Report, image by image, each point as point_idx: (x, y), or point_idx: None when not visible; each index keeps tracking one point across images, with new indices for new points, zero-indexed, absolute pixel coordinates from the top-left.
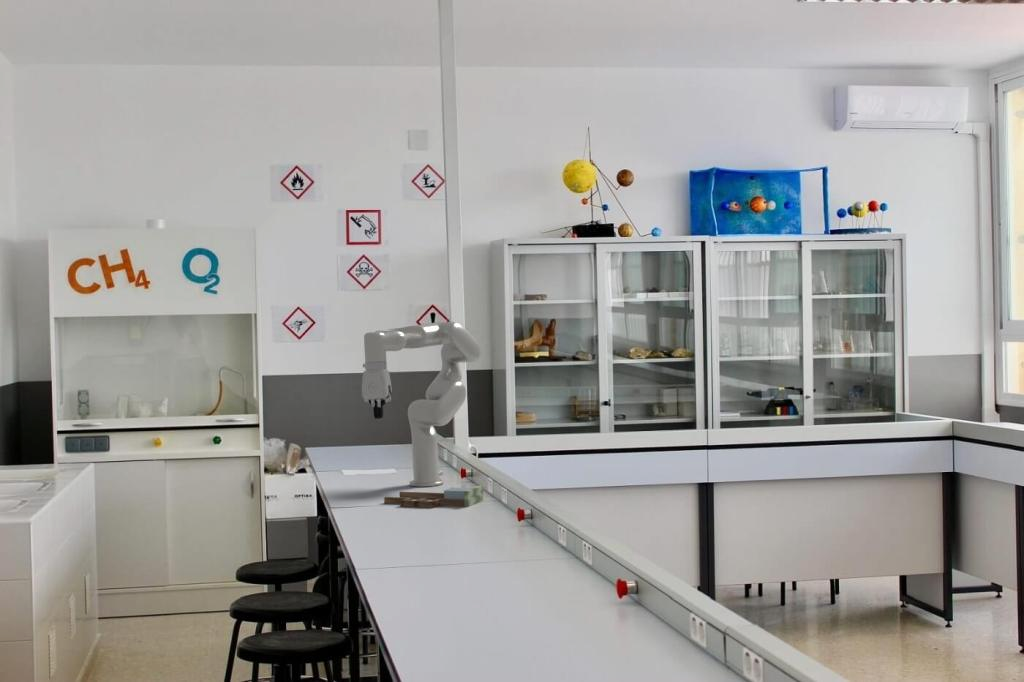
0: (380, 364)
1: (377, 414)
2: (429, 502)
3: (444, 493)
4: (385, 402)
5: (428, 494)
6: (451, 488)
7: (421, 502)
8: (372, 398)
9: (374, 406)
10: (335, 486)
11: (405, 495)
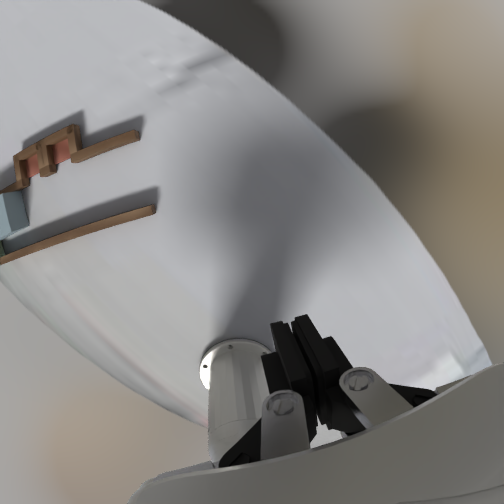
0: None
1: (280, 337)
2: (19, 152)
3: (5, 193)
4: (223, 463)
5: (78, 228)
6: (5, 222)
7: (33, 145)
8: (379, 425)
9: (340, 381)
10: (416, 264)
11: (136, 209)
